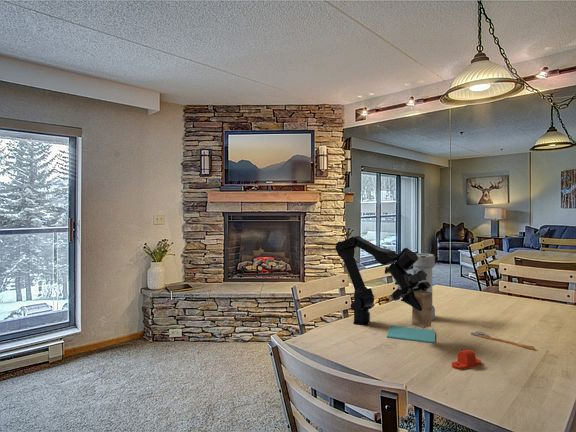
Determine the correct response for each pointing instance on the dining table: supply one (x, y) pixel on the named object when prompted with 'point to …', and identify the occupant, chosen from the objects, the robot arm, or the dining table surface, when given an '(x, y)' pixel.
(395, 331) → the mat
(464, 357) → the bracket
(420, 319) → the walnut block
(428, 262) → the canister
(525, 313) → the dining table surface
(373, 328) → the dining table surface
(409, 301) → the robot arm
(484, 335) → the axe
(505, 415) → the dining table surface
